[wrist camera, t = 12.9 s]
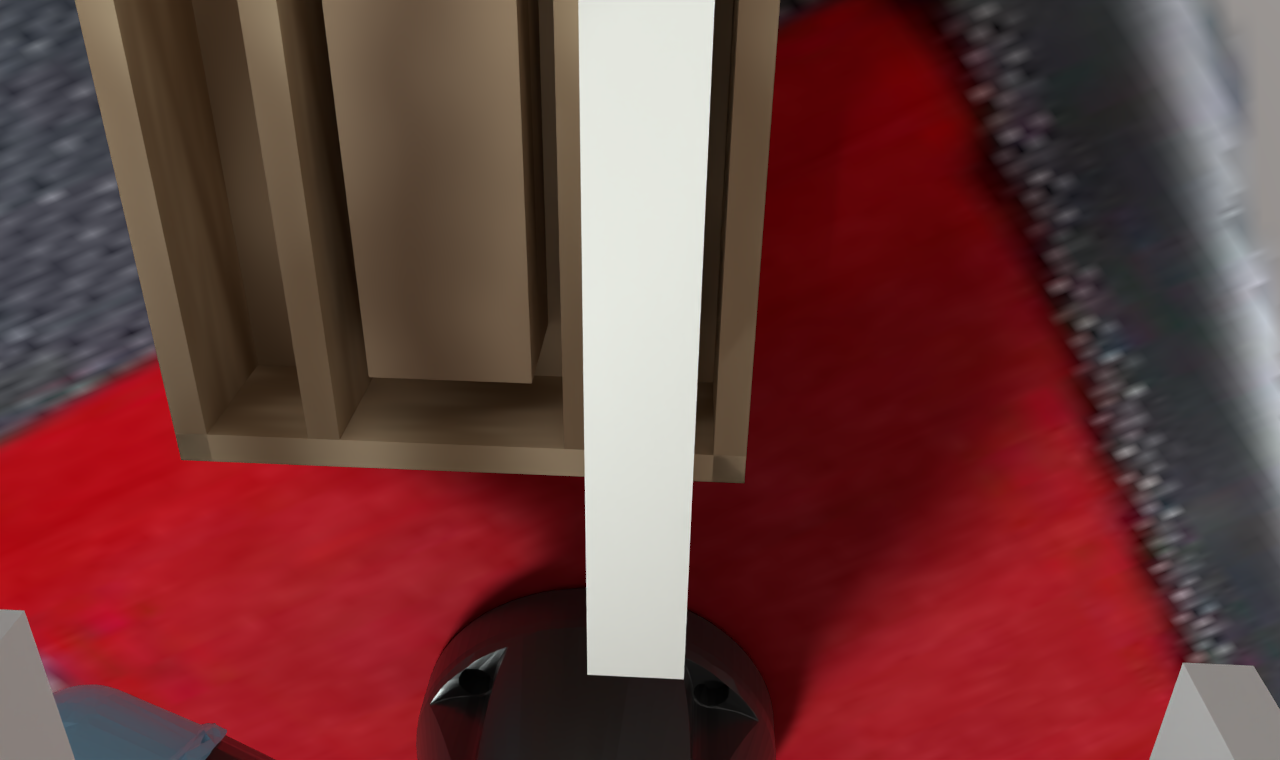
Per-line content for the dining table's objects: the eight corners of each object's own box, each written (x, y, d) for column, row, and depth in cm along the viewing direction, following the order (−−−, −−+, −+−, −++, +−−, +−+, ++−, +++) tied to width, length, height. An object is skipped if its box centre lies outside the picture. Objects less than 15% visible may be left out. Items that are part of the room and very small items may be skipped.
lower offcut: (534, -137, 30) (523, -130, 28) (548, 324, 37) (540, 352, 35) (352, -140, 30) (330, -134, 28) (400, 318, 37) (385, 346, 35)
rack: (783, -260, 29) (799, -263, 24) (739, 386, 39) (744, 483, 34) (131, -270, 30) (10, -275, 25) (249, 367, 40) (181, 459, 35)
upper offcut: (523, -130, 28) (511, -122, 26) (540, 352, 35) (531, 383, 33) (330, -134, 28) (306, -126, 27) (385, 346, 35) (368, 377, 34)
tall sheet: (711, -134, 30) (716, -35, 16) (692, 328, 37) (683, 679, 23) (637, -136, 30) (577, -39, 16) (632, 326, 37) (587, 674, 23)
